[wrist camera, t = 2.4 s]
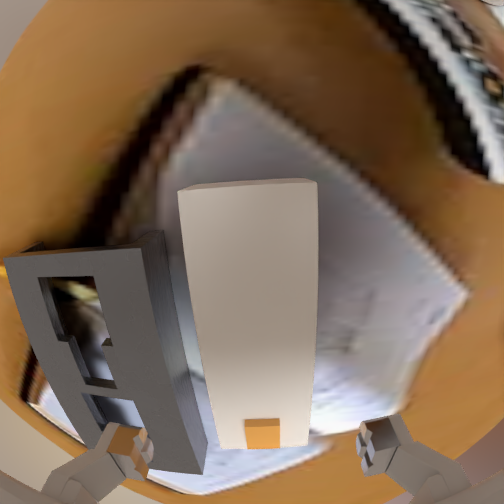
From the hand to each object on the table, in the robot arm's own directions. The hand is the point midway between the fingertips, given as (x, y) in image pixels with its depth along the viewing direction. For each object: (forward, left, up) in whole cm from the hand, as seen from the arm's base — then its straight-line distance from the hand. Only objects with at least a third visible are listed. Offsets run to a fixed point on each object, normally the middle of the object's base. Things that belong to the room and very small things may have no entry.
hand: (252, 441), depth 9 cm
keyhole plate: (+5, -12, -12) cm, 18 cm away
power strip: (-1, 0, -12) cm, 12 cm away
